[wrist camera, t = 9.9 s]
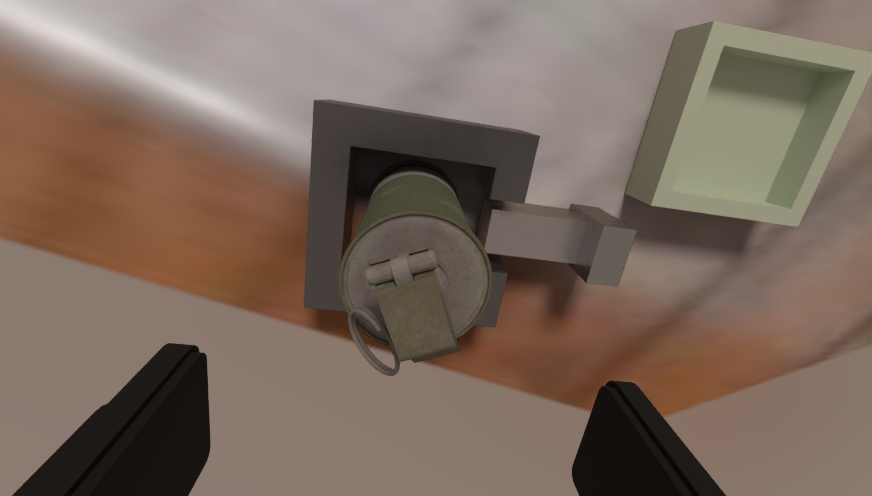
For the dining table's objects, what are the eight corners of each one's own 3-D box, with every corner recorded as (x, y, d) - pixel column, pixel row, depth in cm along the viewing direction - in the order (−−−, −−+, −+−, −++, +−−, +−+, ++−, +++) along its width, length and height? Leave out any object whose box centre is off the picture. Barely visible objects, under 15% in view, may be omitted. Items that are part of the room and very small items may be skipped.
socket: (521, 130, 26) (539, 136, 22) (484, 298, 30) (495, 327, 26) (328, 99, 24) (314, 100, 21) (317, 279, 28) (303, 307, 25)
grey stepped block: (599, 207, 28) (637, 230, 23) (584, 256, 29) (617, 286, 24) (485, 191, 27) (500, 211, 22) (475, 242, 28) (488, 271, 24)
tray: (824, 59, 25) (880, 54, 22) (757, 213, 29) (798, 226, 26) (676, 30, 24) (714, 21, 21) (624, 193, 28) (650, 205, 25)
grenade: (355, 175, 26) (292, 266, 12) (446, 150, 26) (488, 213, 12) (385, 262, 28) (360, 425, 14) (468, 240, 28) (526, 382, 14)
